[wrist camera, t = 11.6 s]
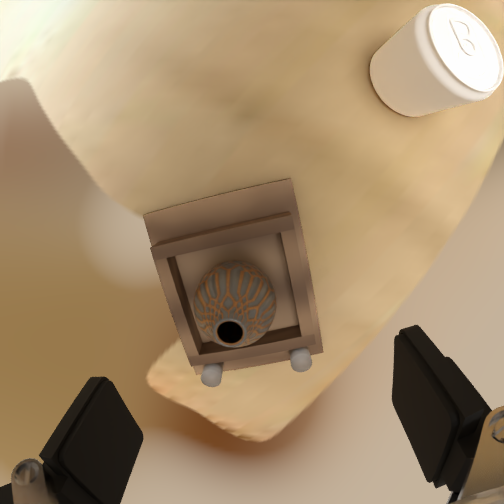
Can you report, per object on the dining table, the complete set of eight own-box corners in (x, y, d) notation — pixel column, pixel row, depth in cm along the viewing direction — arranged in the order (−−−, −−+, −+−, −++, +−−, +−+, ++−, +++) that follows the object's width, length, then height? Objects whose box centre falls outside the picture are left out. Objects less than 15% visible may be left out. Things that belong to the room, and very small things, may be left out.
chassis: (147, 213, 29) (130, 220, 25) (289, 178, 28) (295, 179, 24) (198, 368, 33) (191, 391, 29) (321, 346, 32) (328, 368, 28)
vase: (252, 331, 31) (250, 385, 22) (190, 300, 30) (166, 346, 21) (288, 274, 29) (299, 315, 21) (222, 239, 28) (206, 268, 20)
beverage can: (377, 119, 26) (442, 95, 15) (358, 45, 24) (406, -10, 13) (442, 117, 26) (518, 102, 14) (424, 48, 24) (487, 8, 12)
